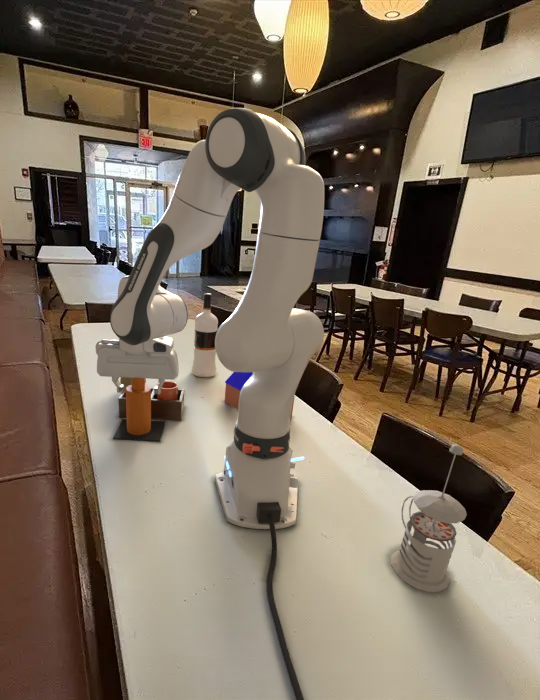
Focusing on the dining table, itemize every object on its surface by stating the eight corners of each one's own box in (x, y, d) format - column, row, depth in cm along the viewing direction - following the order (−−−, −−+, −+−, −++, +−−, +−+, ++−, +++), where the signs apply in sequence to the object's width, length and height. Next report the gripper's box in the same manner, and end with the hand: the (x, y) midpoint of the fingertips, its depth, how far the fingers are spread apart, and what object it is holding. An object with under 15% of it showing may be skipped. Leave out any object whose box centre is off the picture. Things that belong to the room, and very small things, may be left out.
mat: (159, 441, 107) (159, 440, 107) (112, 439, 106) (112, 437, 106) (165, 422, 117) (165, 420, 117) (122, 419, 116) (122, 418, 116)
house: (263, 426, 119) (268, 389, 115) (223, 401, 133) (225, 367, 129) (293, 417, 126) (298, 381, 122) (251, 394, 141) (254, 361, 136)
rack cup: (176, 418, 120) (177, 389, 117) (155, 416, 120) (155, 388, 116) (178, 409, 125) (179, 381, 122) (158, 408, 125) (158, 380, 122)
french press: (414, 597, 67) (455, 465, 58) (374, 545, 77) (403, 427, 68) (463, 586, 70) (509, 459, 61) (417, 538, 80) (451, 423, 71)
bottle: (148, 435, 108) (148, 375, 102) (124, 434, 108) (122, 373, 102) (152, 424, 114) (152, 366, 108) (129, 423, 114) (128, 365, 107)
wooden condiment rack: (181, 420, 118) (181, 401, 116) (119, 417, 117) (118, 398, 115) (184, 407, 127) (184, 389, 125) (126, 404, 126) (125, 385, 124)
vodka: (210, 379, 150) (214, 297, 139) (187, 375, 153) (189, 293, 142) (219, 372, 158) (224, 293, 147) (198, 367, 161) (201, 290, 150)
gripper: (91, 342, 99) (94, 395, 104) (177, 346, 100) (176, 399, 105) (98, 335, 105) (101, 386, 109) (179, 340, 106) (179, 390, 111)
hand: (139, 392), depth 107 cm, fingers open, 8 cm apart
